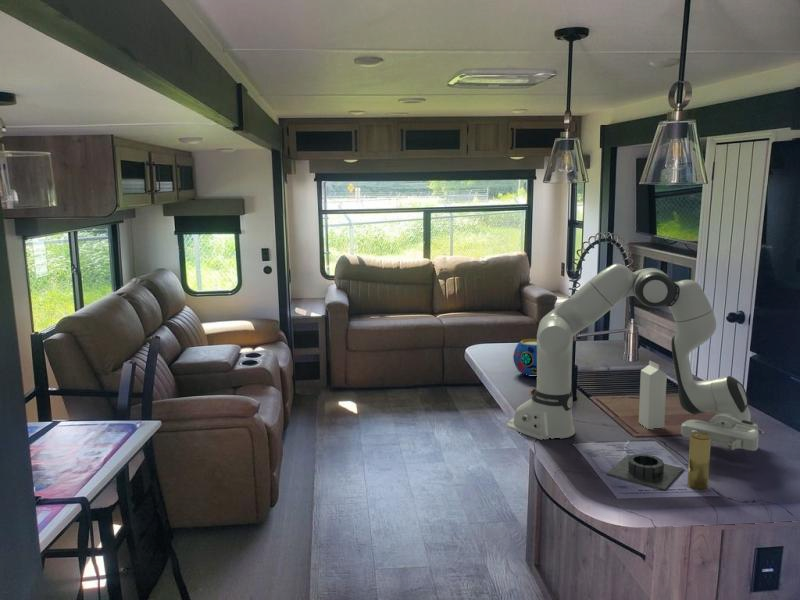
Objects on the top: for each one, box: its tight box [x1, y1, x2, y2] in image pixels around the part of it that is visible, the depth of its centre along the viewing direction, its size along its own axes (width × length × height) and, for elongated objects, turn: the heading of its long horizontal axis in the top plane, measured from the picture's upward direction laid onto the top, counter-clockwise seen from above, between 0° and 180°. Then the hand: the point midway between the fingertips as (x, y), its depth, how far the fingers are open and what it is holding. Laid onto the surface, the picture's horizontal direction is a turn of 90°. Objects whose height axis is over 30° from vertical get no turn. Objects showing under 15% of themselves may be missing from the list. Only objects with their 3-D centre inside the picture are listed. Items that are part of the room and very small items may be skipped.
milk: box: [638, 360, 668, 430], centre depth 214 cm, size 6×6×22 cm
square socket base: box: [606, 453, 685, 492], centre depth 181 cm, size 16×16×4 cm
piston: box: [687, 432, 712, 491], centre depth 171 cm, size 5×5×15 cm
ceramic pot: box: [512, 338, 537, 375], centre depth 276 cm, size 18×18×15 cm
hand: (712, 443), depth 180 cm, fingers open, 8 cm apart
